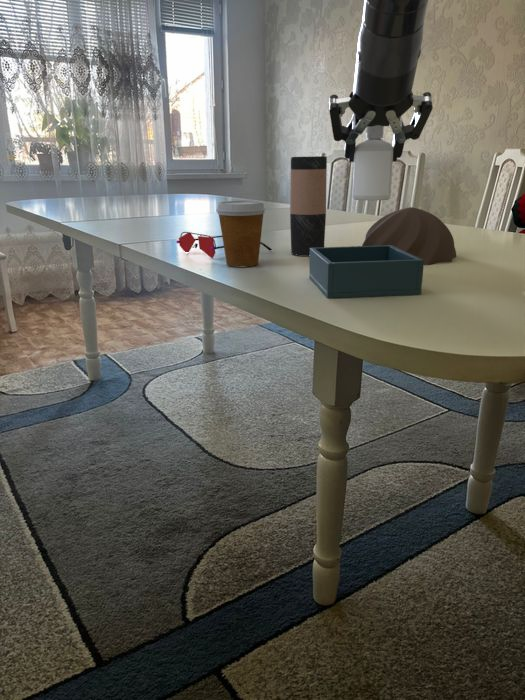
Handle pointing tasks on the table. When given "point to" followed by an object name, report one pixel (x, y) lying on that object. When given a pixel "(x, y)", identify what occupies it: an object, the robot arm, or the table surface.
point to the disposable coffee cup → (241, 231)
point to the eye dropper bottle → (373, 167)
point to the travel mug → (307, 203)
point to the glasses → (201, 243)
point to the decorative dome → (414, 235)
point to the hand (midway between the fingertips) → (372, 157)
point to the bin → (365, 271)
